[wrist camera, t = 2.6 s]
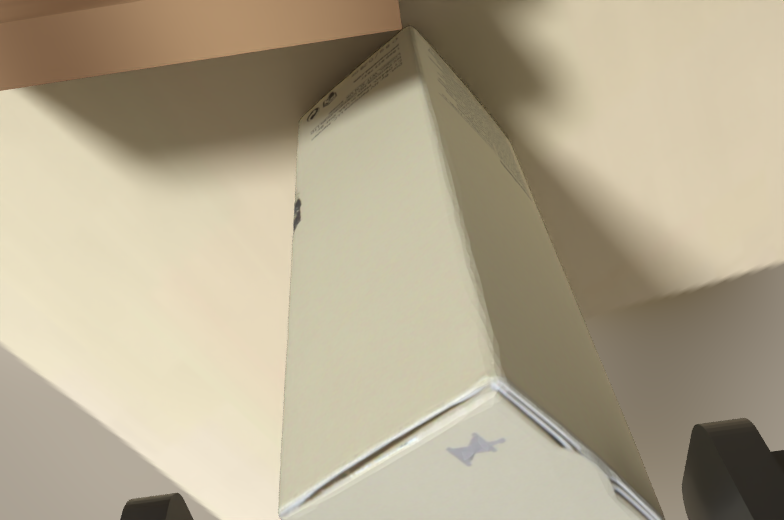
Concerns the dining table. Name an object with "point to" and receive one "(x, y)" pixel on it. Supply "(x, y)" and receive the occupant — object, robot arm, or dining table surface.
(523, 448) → the box
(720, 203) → the dining table surface
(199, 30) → the rack
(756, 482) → the robot arm
